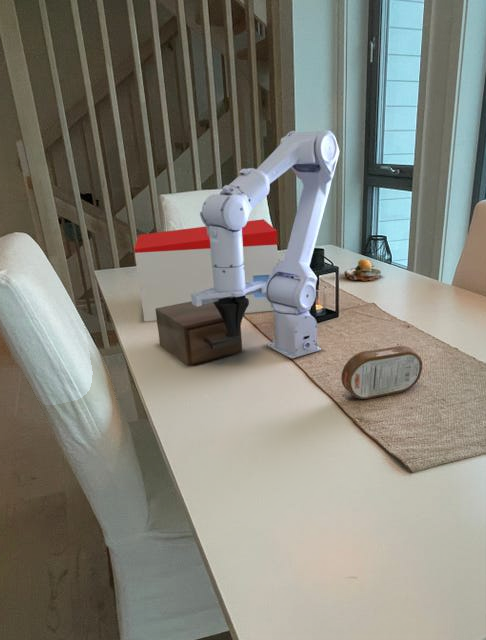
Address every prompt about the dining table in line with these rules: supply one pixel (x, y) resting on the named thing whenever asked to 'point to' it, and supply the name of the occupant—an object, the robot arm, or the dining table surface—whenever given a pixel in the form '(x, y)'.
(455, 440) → the dining table surface
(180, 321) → the cabinet
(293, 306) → the robot arm
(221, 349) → the drawer
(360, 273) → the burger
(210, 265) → the red-topped white box
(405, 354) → the tin
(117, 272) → the dining table surface
